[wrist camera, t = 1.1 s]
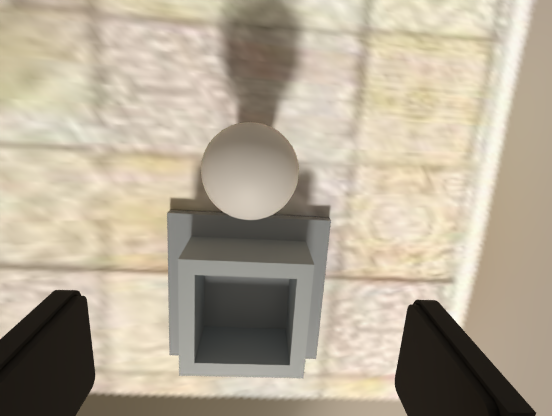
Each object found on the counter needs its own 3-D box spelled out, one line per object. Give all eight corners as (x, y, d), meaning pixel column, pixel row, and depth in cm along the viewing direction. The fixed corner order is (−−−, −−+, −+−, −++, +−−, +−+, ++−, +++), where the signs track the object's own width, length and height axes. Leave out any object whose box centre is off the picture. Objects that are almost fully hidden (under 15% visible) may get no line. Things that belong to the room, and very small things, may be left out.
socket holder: (170, 209, 31) (149, 231, 25) (328, 217, 32) (343, 240, 26) (172, 348, 34) (154, 395, 29) (314, 352, 35) (325, 398, 29)
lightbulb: (303, 148, 30) (326, 167, 19) (261, 205, 31) (262, 252, 20) (243, 104, 29) (233, 99, 18) (202, 165, 30) (171, 193, 19)
